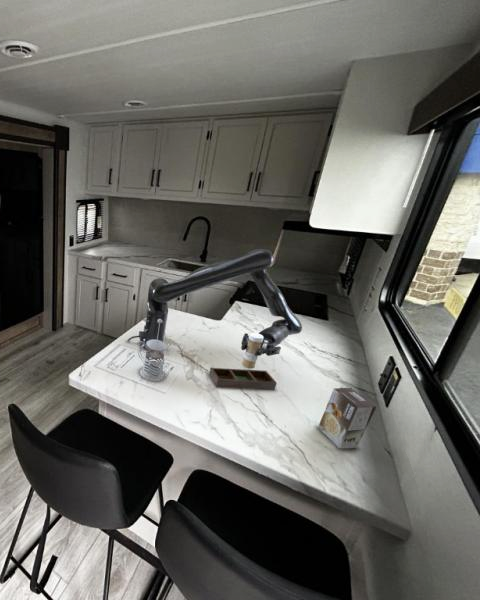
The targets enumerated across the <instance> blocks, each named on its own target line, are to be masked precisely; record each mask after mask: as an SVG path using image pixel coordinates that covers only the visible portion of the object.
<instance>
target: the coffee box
mask: <svg viewBox="0 0 480 600" xmlns="http://www.w3.org/2000/svg"><path fill="white" fill-rule="evenodd" d="M376 409H377V405H376V404H374V403H372V402H371V401H370V400H368V399H367V398H366V397H364V396H363V395H361V393H359V392H357V390H355V389H354V388H352V387H337V388H336V387H334V388H333V389H332V391H331V394H330V397H329V400H328V402H327V404H326V407H325V409H324V411H323V413H322V416H321V419H320V421H319V424H318V427H317V428H318V429H319V430H320V431H321V432H322V433H323V434H324V435H325V436H326V437H327V438H329V440H330V441H331V442H332V443H333V444H334V445H336V447H337V448H338V449H357V448H358V447H359V444H360V442H361V440H362V438H363V436H364V434H365V432H366V429H368V428H367V427H368V425H369V423H370V421H371V419H372V417H373V416H374V414H375V411H376Z"/></svg>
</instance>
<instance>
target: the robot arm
mask: <svg viewBox="0 0 480 600" xmlns="http://www.w3.org/2000/svg"><path fill="white" fill-rule="evenodd" d="M273 262H274V254H272V252H271V251H270V250H268V249H265V248H256V249H252V250H249V251H247V252H246V253H245V254H244V255H243V256H239V257H237V258H234V259H233V258H232V259H229V260H224V261H218V262H214V263H211V264H207V265H204V266H201V267H199V268H196V269H194V270H193V271H192V272H190V273H189V274H188V275H186V276H185V277H182V278H180V279H177V280H174V281H171V282H168V281H167V280H166V279H165V278H161V277H160V278H159V277H158V278H155V279H153V280H152V281H151V282H150V283H149V286H148V290H147V291H148V292H147V301H146V306H147V308H146V309H147V310H146V318H145V325H143V330H140V331H138V335H134V336H130V337H129V338H128V339H127V342H129V341H131V340H133V339H136V338H139V342H141V344H142V345H143V344H146V343H147V341H149V340H157V336H158V340H161V341H162V342H164V341H165V335H166V328H167V322H168V316H169V305H168V303H169V302H172V301H173V300H176V299H178V298H180V297H183V296H185V295H188V294H191V293H195V292H198V291H200V290H203V289H207V288H211V287H214V286H217V285H220V284H223V283H225V282H228V281H230V280H233V279H235V278H238V277H240V276H243V275H247V274H249V276H250V277H251V278H252V279H253V282H254V283H255V285H256V286H257V288H258V290H259V292H260V294H261V295H262V298H263V300H264V303H265V304H266V307H267V309H268V310H269V313H270V315H271V316H273V317H280V318H282V319H277V320H274V321H273V322H272V324H271V325H270V326H269V327H266V328H264V329H262V330H260V331H259V332H258V333H259V334H261V335H262V336H263V337H264V338H263V341H262V343H261V346H260V348H259V349H258V350H256V353H255V356H258V357H259V356H262V355H266V356H268V357H271V356H275V355H279V354H280V353H281V350H282V347H281V346H279V345H280V344H281V343H282V342H283V341H284V340H286V339H287V338H288V337H289V336H292V335H299V334H301V332H302V331H303V324H302V322H301V321H300V319H299V318H298V317H297V316H296V314H295V313H294V312H293V311H292V310H291V309H290V307H289V306H288V303H287V301H286V299H285V297H284V294H283V293H282V292H281V290H280V288H279V287H278V286H277V285H276V283H275V282H274V281H273V280H272V278H271V277H270V275H269V272H268V269H269V268H270V267H271V266H272V264H273ZM158 319H162V323H160V327H159V323H158V322H157V321H158ZM158 330H159V333H158ZM249 335H250V334H249V333H246V332H245V333H244V335H243V337H242V340H241V346H240V348H241V350H242V351H246V348H247V345H248V341H249ZM146 347H147V345H145V346H144V345H143V347H142V348H143V350H146V351H147V350H149V349H150V348H149V347H147V348H146Z"/></svg>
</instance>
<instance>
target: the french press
mask: <svg viewBox="0 0 480 600" xmlns="http://www.w3.org/2000/svg"><path fill="white" fill-rule="evenodd" d="M157 322H158V323H159V327H160V323H162V319H158V321H157ZM158 333H159V330H158ZM143 345H144V346H145V345H147V347H149V348H150V349H149V350H147V349H146V352H145V356H144V357H143V356H142V352H141V349H142V348H143ZM147 347H146V348H147ZM167 347H168V345H167V344H166V343H165V342H164V341H163V342H162V341H161V340H158V336H157V340H149V341H147V343H146V344H142V345H141V346H140V347H139V348H138V351H137V354H138V358H139V359H140V360H141V361H142V362H143V364H142V368H141V369H140V371H139V374H140V376H141V377H142V378H144V379H146V380H147V381H150V382H159V381H162V380H163V379H164V378H165V374H164V372H163V369H164V365H165V364H164V363H165V353H164V352H163V351H166V349H167Z"/></svg>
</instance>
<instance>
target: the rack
mask: <svg viewBox="0 0 480 600" xmlns="http://www.w3.org/2000/svg"><path fill="white" fill-rule="evenodd" d="M208 376H209V377H210V379H211V381H212V382H213V385H214V386H215V388H225V389H226V388H227V389H245V390H261V391H262V390H263V391H275V390H276V387H277V383H278V382H277V381H276V380H275V379H274V378H273V377H272V376H271V374H270V373H269V372H268V371H267V370H259V369H240V368H220V367H210V369H209V373H208Z"/></svg>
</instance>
